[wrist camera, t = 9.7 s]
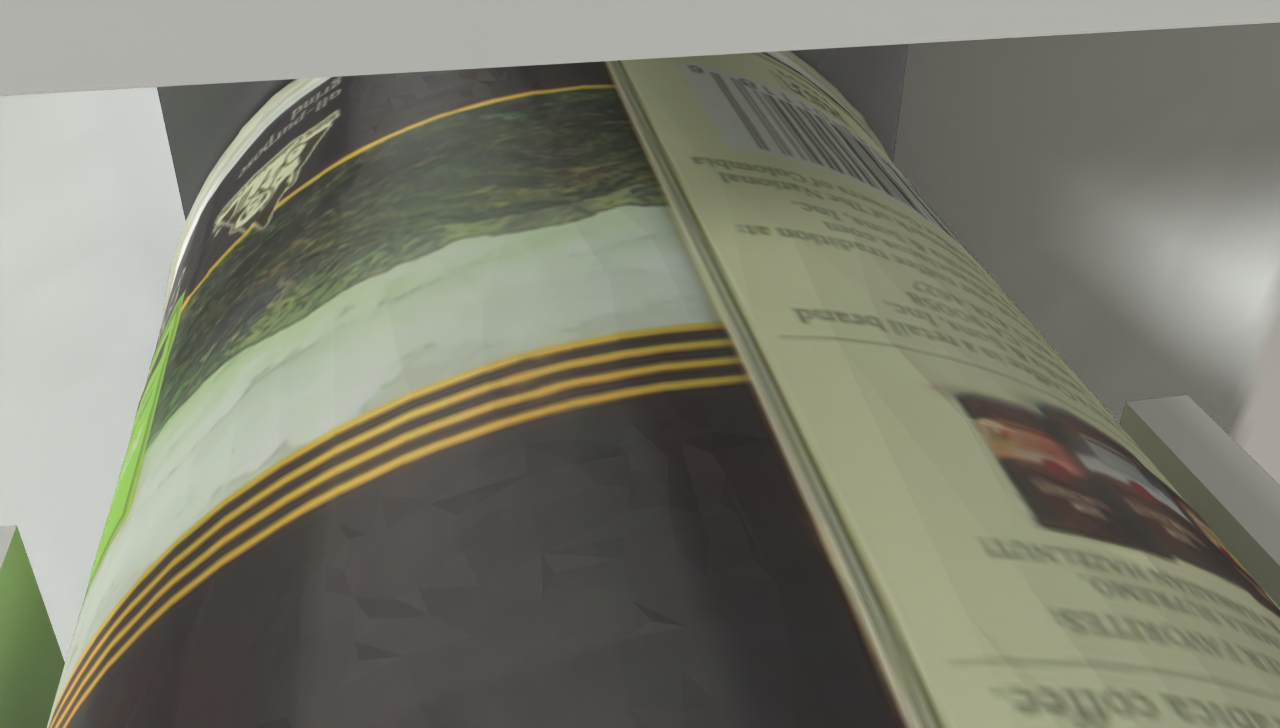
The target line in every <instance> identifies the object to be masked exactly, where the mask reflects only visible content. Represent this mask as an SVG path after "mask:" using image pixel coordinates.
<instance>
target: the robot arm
mask: <svg viewBox="0 0 1280 728" xmlns="http://www.w3.org/2000/svg"><path fill="white" fill-rule="evenodd" d="M1120 426H1121V427H1122V428H1123V429H1124V431H1125V432H1126V433H1127V434H1128V435H1129V436H1130V437H1131V439H1132V440H1133V441H1134V442H1135V443H1136V444H1137V446H1138V447H1139V448H1140V449H1141V450H1142V451H1143V452H1144V454H1145V455H1146V456H1147V457H1148V458H1149V459H1150V461H1151V462H1152V463H1153V464H1154V465H1155V466H1156V468H1157V469H1158V470H1159V471H1160V472H1161V473H1162V475H1163V476H1164V477H1165V478H1166V479H1167V480H1168V481H1169V483H1170V484H1171V485H1172V486H1173V487H1174V488H1175V490H1176V491H1177V492H1178V493H1179V494H1180V495H1181V497H1182V498H1183V499H1184V500H1185V501H1186V502H1187V503H1188V505H1189V506H1190V507H1191V508H1192V509H1193V510H1194V511H1195V512H1197V513H1198V514H1199V516H1200V517H1201V518H1202V519H1203V520H1204V522H1205V523H1206V524H1207V525H1208V526H1209V527H1210V529H1211V530H1212V531H1213V532H1214V533H1215V535H1216V536H1217V537H1218V538H1219V539H1220V540H1221V542H1222V543H1223V544H1224V545H1225V546H1226V547H1227V549H1228V550H1229V551H1230V552H1231V553H1232V555H1233V556H1234V557H1235V558H1236V559H1237V560H1238V562H1239V563H1240V564H1241V565H1242V566H1243V567H1244V568H1245V569H1246V571H1247V572H1248V573H1249V574H1250V575H1251V576H1252V577H1253V578H1254V580H1255V581H1256V582H1257V583H1258V584H1259V585H1260V586H1261V587H1262V589H1263V590H1264V591H1265V592H1266V593H1267V594H1268V595H1269V596H1270V598H1271V599H1272V600H1273V601H1274V602H1275V603H1276V604H1277V606H1278V607H1279V608H1280V485H1279V484H1278V483H1277V482H1276V481H1275V480H1274V479H1273V478H1272V477H1271V476H1270V475H1269V474H1268V473H1267V472H1266V471H1265V470H1264V469H1263V468H1262V467H1261V466H1260V465H1259V464H1258V463H1256V461H1254V460H1253V459H1252V458H1251V457H1250V456H1249V455H1248V454H1247V453H1246V452H1245V451H1244V450H1243V449H1242V448H1241V447H1240V446H1239V445H1238V444H1237V443H1236V442H1235V441H1234V440H1233V439H1232V438H1231V437H1230V436H1229V435H1228V434H1227V433H1226V432H1225V431H1224V430H1223V429H1222V428H1221V427H1220V426H1219V425H1218V424H1217V423H1216V422H1215V421H1214V420H1213V419H1212V418H1211V417H1210V416H1209V415H1208V414H1206V413H1205V412H1204V411H1203V410H1202V409H1201V408H1200V407H1199V406H1198V405H1197V404H1196V403H1195V402H1194V401H1193V400H1192V399H1191V398H1190V397H1189V396H1188V395H1181V396H1172V397H1163V398H1154V399H1145V400H1136V401H1127V402H1126V403H1125V406H1124V410H1123V414H1122V418H1121V422H1120ZM64 665H65V662H64V660H63V657H62V654H61V651H60V648H59V645H58V642H57V639H56V637H55V634H54V631H53V628H52V625H51V622H50V619H49V617H48V614H47V611H46V608H45V605H44V602H43V599H42V596H41V594H40V591H39V588H38V585H37V582H36V579H35V576H34V573H33V571H32V568H31V565H30V562H29V559H28V556H27V553H26V550H25V548H24V545H23V542H22V539H21V536H20V533H19V530H18V528H17V525H14V526H5V527H0V728H47V725H48V721H49V718H50V714H51V711H52V707H53V704H54V700H55V697H56V693H57V690H58V686H59V683H60V679H61V676H62V672H63V669H64Z"/></svg>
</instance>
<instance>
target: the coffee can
mask: <svg viewBox="0 0 1280 728" xmlns="http://www.w3.org/2000/svg"><path fill="white" fill-rule="evenodd" d="M47 728H1280V608H1279V607H1278V606H1277V604H1276V603H1275V602H1274V601H1273V600H1272V599H1271V598H1270V596H1269V595H1268V594H1267V593H1266V592H1265V591H1264V590H1263V589H1262V587H1261V586H1260V585H1259V584H1258V583H1257V582H1256V581H1255V580H1254V578H1253V577H1252V576H1251V575H1250V574H1249V573H1248V572H1247V571H1246V569H1245V568H1244V567H1243V566H1242V565H1241V564H1240V563H1239V562H1238V560H1237V559H1236V558H1235V557H1234V556H1233V555H1232V553H1231V552H1230V551H1229V550H1228V549H1227V547H1226V546H1225V545H1224V544H1223V543H1222V542H1221V540H1220V539H1219V538H1218V537H1217V536H1216V535H1215V533H1214V532H1213V531H1212V530H1211V529H1210V527H1209V526H1208V525H1207V524H1206V523H1205V522H1204V520H1203V519H1202V518H1201V517H1200V516H1199V514H1198V513H1197V512H1195V511H1194V510H1193V509H1192V508H1191V507H1190V506H1189V505H1188V503H1187V502H1186V501H1185V500H1184V499H1183V498H1182V497H1181V495H1180V494H1179V493H1178V492H1177V491H1176V490H1175V488H1174V487H1173V486H1172V485H1171V484H1170V483H1169V481H1168V480H1167V479H1166V478H1165V477H1164V476H1163V475H1162V473H1161V472H1160V471H1159V470H1158V469H1157V468H1156V466H1155V465H1154V464H1153V463H1152V462H1151V461H1150V459H1149V458H1148V457H1147V456H1146V455H1145V454H1144V452H1143V451H1142V450H1141V449H1140V448H1139V447H1138V446H1137V444H1136V443H1135V442H1134V441H1133V440H1132V439H1131V437H1130V436H1129V435H1128V434H1127V433H1126V432H1125V431H1124V429H1123V428H1122V427H1121V426H1120V425H1119V424H1118V422H1117V421H1116V420H1115V419H1114V418H1113V417H1112V416H1111V414H1110V413H1109V412H1108V411H1107V410H1106V409H1105V408H1104V406H1103V405H1102V404H1101V403H1100V402H1099V401H1098V399H1097V398H1096V397H1095V396H1094V395H1093V394H1092V393H1091V391H1090V390H1089V389H1088V388H1087V387H1086V386H1085V384H1084V383H1083V382H1082V381H1081V380H1080V379H1079V378H1078V376H1077V375H1076V374H1075V373H1074V372H1073V371H1072V369H1071V368H1070V367H1069V366H1068V365H1067V364H1066V363H1065V361H1064V360H1063V359H1062V358H1061V357H1060V356H1059V355H1058V353H1057V352H1056V351H1055V350H1054V349H1053V348H1052V346H1051V345H1050V344H1049V343H1048V342H1047V341H1046V340H1045V338H1044V337H1043V336H1042V335H1041V334H1040V333H1039V332H1038V330H1037V329H1036V328H1035V327H1034V326H1033V325H1032V323H1031V322H1030V321H1029V320H1028V319H1027V318H1026V317H1025V315H1024V314H1023V313H1022V312H1021V311H1020V310H1019V309H1018V307H1017V306H1016V305H1015V304H1014V303H1013V302H1012V300H1011V299H1010V298H1009V297H1008V296H1007V295H1006V294H1005V292H1004V291H1003V290H1002V289H1001V288H1000V287H999V285H998V284H997V283H996V282H995V281H994V280H993V279H992V277H991V276H990V275H989V274H988V273H987V272H986V270H985V269H984V268H983V267H982V266H981V265H980V264H979V262H978V261H977V260H976V259H975V258H974V257H973V256H972V254H971V253H970V252H969V251H968V250H967V249H966V248H965V246H964V245H963V244H962V243H961V242H960V241H959V240H958V238H957V237H956V236H955V235H954V234H953V233H952V232H951V230H950V229H949V228H948V227H947V226H946V225H945V223H944V222H943V221H942V220H941V219H940V218H939V216H938V215H937V214H936V213H935V212H934V210H933V209H932V208H931V207H930V206H929V204H928V203H927V202H926V201H925V200H924V199H923V197H922V196H921V195H920V194H919V193H918V192H917V191H916V189H915V188H914V187H913V186H912V185H911V184H910V183H909V181H908V180H907V179H906V178H905V177H904V176H903V174H902V173H901V172H900V171H899V170H898V169H897V168H896V166H895V165H894V164H893V163H892V162H891V160H890V159H889V157H888V155H887V153H886V151H885V149H884V148H883V146H882V144H881V143H880V141H879V140H878V138H877V137H876V135H875V134H874V132H873V131H872V130H871V128H870V126H869V125H868V123H867V122H866V120H865V118H864V117H863V115H862V114H861V113H860V112H859V111H858V110H856V109H855V108H854V107H853V106H852V105H851V104H850V103H849V102H848V101H847V100H846V98H845V97H844V96H843V95H842V94H841V93H840V92H839V91H838V89H837V88H835V87H834V86H833V85H832V84H831V83H830V82H829V81H827V80H826V79H825V78H824V77H823V76H822V75H821V74H819V73H818V72H817V71H816V70H815V69H814V68H813V67H811V66H810V65H809V64H807V63H806V62H804V61H803V60H802V59H800V58H799V57H798V56H796V55H795V54H793V53H792V52H791V51H774V52H757V53H739V54H722V55H704V56H687V57H670V58H652V59H635V60H617V61H600V62H583V63H565V64H548V65H530V66H513V67H495V68H478V69H461V70H443V71H426V72H408V73H391V74H373V75H356V76H339V77H321V78H304V79H295V80H293V81H292V82H291V83H289V84H288V85H287V86H285V87H284V88H283V89H282V90H280V91H279V92H278V93H276V94H275V95H274V96H273V97H272V98H271V99H270V100H269V101H268V102H267V103H266V104H265V105H264V106H263V107H262V108H261V109H260V110H259V111H258V112H257V113H256V114H255V115H254V116H253V117H252V118H251V119H250V120H249V121H248V122H247V123H246V124H245V125H244V126H243V128H242V129H241V130H240V132H239V134H238V135H237V137H236V138H235V139H234V140H233V142H232V143H231V144H230V145H229V147H228V148H227V149H226V150H225V152H224V153H223V155H222V156H221V158H220V159H219V161H218V162H217V163H216V165H215V166H214V168H213V169H212V171H211V172H210V174H209V175H208V177H207V179H206V181H205V183H204V185H203V187H202V189H201V190H200V192H199V194H198V196H197V198H196V200H195V202H194V204H193V207H192V209H191V211H190V213H189V215H188V217H187V220H186V222H185V224H184V227H183V230H182V233H181V236H180V239H179V242H178V245H177V248H176V251H175V255H174V258H173V261H172V264H171V267H170V272H169V278H168V285H167V291H166V298H165V304H164V312H163V323H162V326H161V329H160V333H159V337H158V342H157V346H156V350H155V353H154V356H153V359H152V362H151V366H150V369H149V373H148V377H147V381H146V385H145V388H144V392H143V394H142V397H141V400H140V402H139V406H138V409H137V413H136V417H135V421H134V425H133V429H132V433H131V437H130V441H129V445H128V449H127V453H126V456H125V459H124V462H123V465H122V468H121V472H120V475H119V479H118V482H117V486H116V490H115V493H114V497H113V500H112V504H111V507H110V511H109V514H108V518H107V521H106V524H105V528H104V531H103V534H102V538H101V541H100V544H99V548H98V551H97V554H96V558H95V561H94V564H93V568H92V572H91V576H90V580H89V584H88V588H87V592H86V595H85V598H84V602H83V605H82V608H81V612H80V615H79V618H78V621H77V625H76V628H75V631H74V635H73V638H72V641H71V644H70V648H69V651H68V655H67V658H66V662H65V665H64V669H63V672H62V676H61V679H60V683H59V686H58V690H57V693H56V697H55V700H54V704H53V707H52V711H51V714H50V718H49V721H48V725H47Z"/></svg>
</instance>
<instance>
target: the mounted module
mask: <svg viewBox="0 0 1280 728" xmlns="http://www.w3.org/2000/svg"><path fill="white" fill-rule="evenodd" d="M1262 23H1280V0H0V96H8V95H25V94H42V93H60V92H77V91H95V90H112V89H129V88H147V87H164V86H182V85H199V84H217V83H234V82H251V81H269V80H286V79H304V78H321V77H339V76H356V75H373V74H391V73H408V72H426V71H443V70H461V69H478V68H495V67H513V66H530V65H548V64H565V63H583V62H600V61H617V60H635V59H652V58H670V57H687V56H704V55H722V54H739V53H757V52H774V51H792V50H809V49H826V48H844V47H861V46H879V45H896V44H914V43H931V42H948V41H966V40H983V39H1001V38H1018V37H1036V36H1053V35H1070V34H1088V33H1105V32H1123V31H1140V30H1158V29H1175V28H1192V27H1210V26H1227V25H1245V24H1262Z"/></svg>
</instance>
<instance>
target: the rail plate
mask: <svg viewBox="0 0 1280 728" xmlns="http://www.w3.org/2000/svg"><path fill="white" fill-rule="evenodd" d="M907 47H908V44H896V45H879V46H861V47H844V48H826V49H809V50H792V51H791V52H792V53H793V54H795V55H796V56H798V57H799V58H800V59H802V60H803V61H804V62H806V63H807V64H809V65H810V66H811V67H813V68H814V69H815V70H816V71H817V72H818V73H819V74H821V75H822V76H823V77H824V78H825V79H826V80H827V81H829V82H830V83H831V84H832V85H833V86H834V87H835V88H837V89H838V91H839V92H840V93H841V94H842V95H843V96H844V97H845V98H846V100H847V101H848V102H849V103H850V104H851V105H852V106H853V107H854V108H855V109H856V110H858V111H859V112H860V113H861V114H862V115H863V117H864V118H865V120H866V122H867V123H868V125H869V126H870V128H871V130H872V131H873V132H874V134H875V135H876V137H877V138H878V140H879V141H880V143H881V144H882V146H883V148H884V149H885V151H886V153H887V155H888V157H889V159H890V160H891V162H892V163H893V158H894V150H895V143H896V135H897V127H898V119H899V111H900V103H901V95H902V87H903V79H904V71H905V63H906V55H907ZM293 80H295V79H286V80H269V81H251V82H234V83H217V84H199V85H182V86H164V87H157V89H158V94H159V99H160V103H161V108H162V113H163V117H164V122H165V127H166V131H167V136H168V141H169V145H170V150H171V155H172V159H173V164H174V169H175V173H176V178H177V183H178V187H179V192H180V197H181V201H182V206H183V211H184V215H185V220H187V217H188V215H189V213H190V211H191V209H192V207H193V204H194V202H195V200H196V198H197V196H198V194H199V192H200V190H201V189H202V187H203V185H204V183H205V181H206V179H207V177H208V175H209V174H210V172H211V171H212V169H213V168H214V166H215V165H216V163H217V162H218V161H219V159H220V158H221V156H222V155H223V153H224V152H225V150H226V149H227V148H228V147H229V145H230V144H231V143H232V142H233V140H234V139H235V138H236V137H237V135H238V134H239V132H240V130H241V129H242V128H243V126H244V125H245V124H246V123H247V122H248V121H249V120H250V119H251V118H252V117H253V116H254V115H255V114H256V113H257V112H258V111H259V110H260V109H261V108H262V107H263V106H264V105H265V104H266V103H267V102H268V101H269V100H270V99H271V98H272V97H273V96H274V95H275V94H276V93H278V92H279V91H280V90H282V89H283V88H284V87H285V86H287V85H288V84H289V83H291V82H292V81H293Z"/></svg>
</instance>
